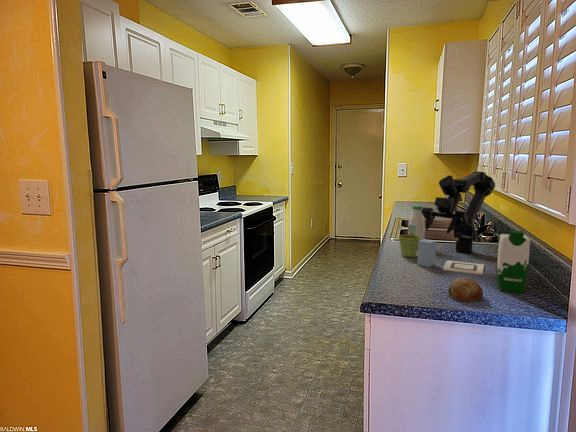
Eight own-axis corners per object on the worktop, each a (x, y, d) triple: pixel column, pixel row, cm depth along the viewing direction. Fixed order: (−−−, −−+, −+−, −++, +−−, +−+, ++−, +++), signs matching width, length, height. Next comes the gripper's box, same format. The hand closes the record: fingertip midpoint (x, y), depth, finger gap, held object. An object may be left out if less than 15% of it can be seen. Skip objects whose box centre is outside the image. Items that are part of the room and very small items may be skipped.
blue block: (423, 262, 171) (424, 239, 170) (434, 265, 168) (436, 241, 166) (417, 264, 168) (418, 240, 166) (428, 267, 164) (430, 242, 163)
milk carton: (497, 291, 136) (502, 232, 132) (493, 283, 144) (498, 227, 141) (528, 294, 133) (533, 233, 130) (522, 286, 141) (527, 228, 138)
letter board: (484, 265, 166) (484, 264, 166) (482, 275, 154) (482, 273, 154) (447, 261, 172) (447, 260, 172) (442, 270, 160) (442, 268, 160)
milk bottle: (421, 244, 204) (423, 204, 201) (425, 248, 196) (427, 206, 193) (405, 244, 205) (407, 204, 201) (408, 248, 197) (410, 206, 194)
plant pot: (412, 259, 176) (412, 239, 175) (393, 255, 183) (394, 236, 182) (423, 256, 182) (424, 236, 181) (405, 252, 189) (406, 233, 188)
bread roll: (447, 302, 136) (438, 281, 135) (475, 288, 136) (466, 267, 135) (462, 313, 127) (453, 291, 125) (492, 299, 127) (483, 276, 125)
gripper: (424, 188, 178) (409, 216, 173) (467, 191, 165) (452, 222, 159) (432, 205, 185) (418, 232, 179) (474, 209, 171) (460, 239, 166)
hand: (436, 231), depth 171 cm, fingers open, 9 cm apart
